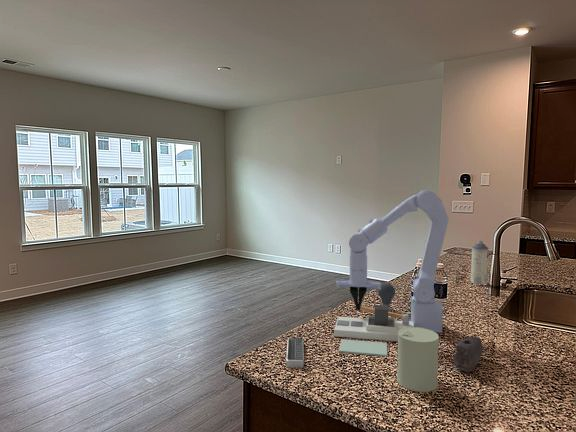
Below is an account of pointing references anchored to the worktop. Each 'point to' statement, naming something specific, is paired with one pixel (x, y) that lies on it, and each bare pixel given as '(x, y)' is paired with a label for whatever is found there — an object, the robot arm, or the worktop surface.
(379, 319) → the plug
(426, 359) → the can
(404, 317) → the hammer
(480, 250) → the aerosol can
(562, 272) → the worktop surface
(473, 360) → the perforated stone tool
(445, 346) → the worktop surface
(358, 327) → the white panel
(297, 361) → the multiport hub
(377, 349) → the mat
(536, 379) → the worktop surface
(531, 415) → the worktop surface
